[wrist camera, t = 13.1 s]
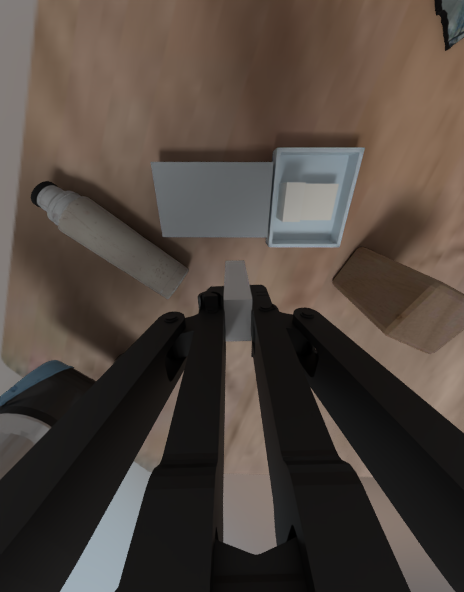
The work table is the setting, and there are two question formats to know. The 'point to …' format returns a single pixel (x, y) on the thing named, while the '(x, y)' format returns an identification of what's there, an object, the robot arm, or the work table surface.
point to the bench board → (213, 198)
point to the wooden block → (402, 300)
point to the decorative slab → (451, 20)
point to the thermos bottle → (109, 238)
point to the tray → (313, 170)
